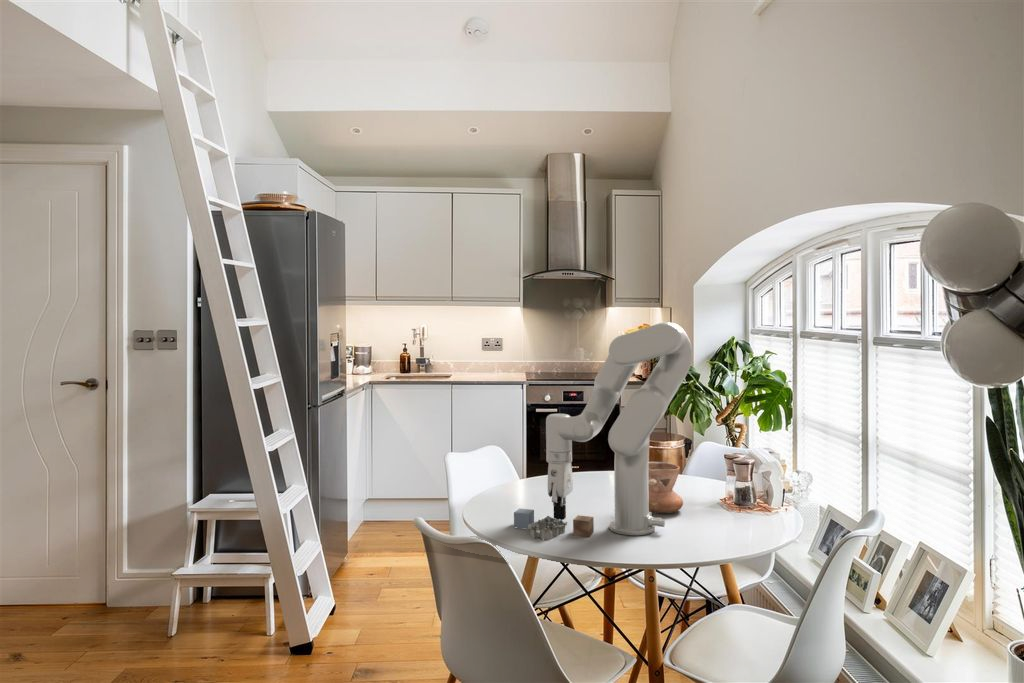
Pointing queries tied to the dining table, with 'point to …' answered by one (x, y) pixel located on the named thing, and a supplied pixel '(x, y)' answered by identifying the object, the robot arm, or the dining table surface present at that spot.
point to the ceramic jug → (663, 488)
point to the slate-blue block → (523, 518)
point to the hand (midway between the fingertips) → (559, 518)
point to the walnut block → (583, 526)
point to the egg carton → (547, 528)
